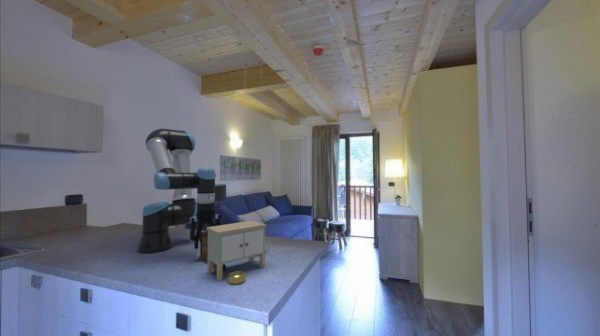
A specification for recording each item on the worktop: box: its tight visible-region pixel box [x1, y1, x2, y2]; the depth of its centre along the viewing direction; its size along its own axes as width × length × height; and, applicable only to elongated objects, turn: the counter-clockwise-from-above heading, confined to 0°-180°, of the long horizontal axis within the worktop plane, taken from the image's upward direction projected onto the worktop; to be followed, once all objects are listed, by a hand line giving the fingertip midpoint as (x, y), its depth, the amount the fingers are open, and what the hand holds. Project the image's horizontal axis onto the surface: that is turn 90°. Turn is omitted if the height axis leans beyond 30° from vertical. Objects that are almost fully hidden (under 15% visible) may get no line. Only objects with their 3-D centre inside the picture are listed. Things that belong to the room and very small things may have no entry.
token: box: [227, 270, 246, 286], centre depth 87 cm, size 6×6×2 cm
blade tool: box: [198, 230, 227, 272], centre depth 103 cm, size 20×4×12 cm, turn 43°
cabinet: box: [206, 220, 267, 282], centre depth 98 cm, size 12×21×18 cm, turn 133°
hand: (205, 254), depth 109 cm, fingers open, 5 cm apart
